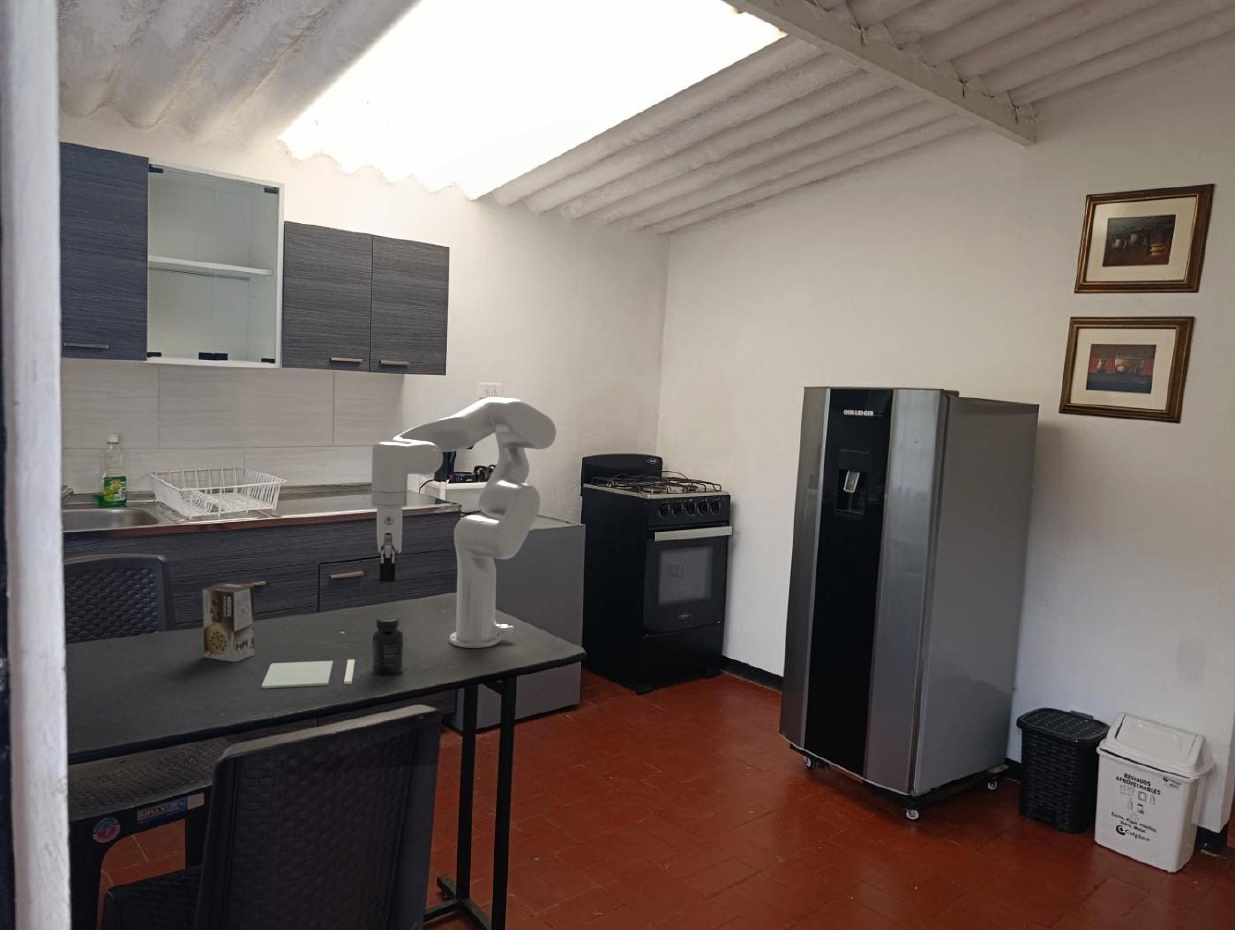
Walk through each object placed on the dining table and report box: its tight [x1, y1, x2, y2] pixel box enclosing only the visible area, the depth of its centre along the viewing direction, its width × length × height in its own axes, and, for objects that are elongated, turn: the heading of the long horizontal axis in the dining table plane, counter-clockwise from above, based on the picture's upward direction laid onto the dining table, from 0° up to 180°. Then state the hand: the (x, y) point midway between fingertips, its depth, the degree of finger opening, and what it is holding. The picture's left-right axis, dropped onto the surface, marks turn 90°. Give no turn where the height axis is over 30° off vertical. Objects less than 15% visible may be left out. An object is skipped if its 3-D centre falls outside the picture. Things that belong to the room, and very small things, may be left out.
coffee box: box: [202, 582, 255, 663], centre depth 192 cm, size 9×6×16 cm
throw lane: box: [261, 659, 356, 689], centre depth 184 cm, size 18×14×1 cm
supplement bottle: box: [371, 615, 405, 677], centre depth 187 cm, size 7×7×12 cm
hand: (387, 576), depth 185 cm, fingers open, 9 cm apart
